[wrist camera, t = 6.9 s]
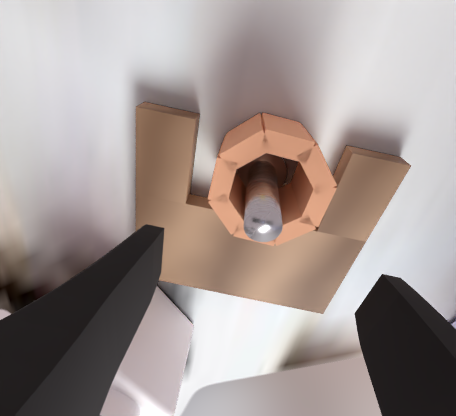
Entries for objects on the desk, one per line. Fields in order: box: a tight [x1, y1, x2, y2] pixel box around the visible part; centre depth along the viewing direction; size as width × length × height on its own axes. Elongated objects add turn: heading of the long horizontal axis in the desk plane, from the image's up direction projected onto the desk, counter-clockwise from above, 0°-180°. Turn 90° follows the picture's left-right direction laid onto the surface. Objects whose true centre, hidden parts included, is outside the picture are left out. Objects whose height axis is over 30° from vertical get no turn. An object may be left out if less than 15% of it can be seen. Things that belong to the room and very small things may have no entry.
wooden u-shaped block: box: [136, 102, 411, 314], centre depth 17 cm, size 14×12×1 cm
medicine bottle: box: [99, 286, 194, 416], centre depth 19 cm, size 7×7×12 cm
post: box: [238, 153, 287, 242], centre depth 14 cm, size 3×3×6 cm
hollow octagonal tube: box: [208, 113, 337, 246], centre depth 14 cm, size 5×5×4 cm
